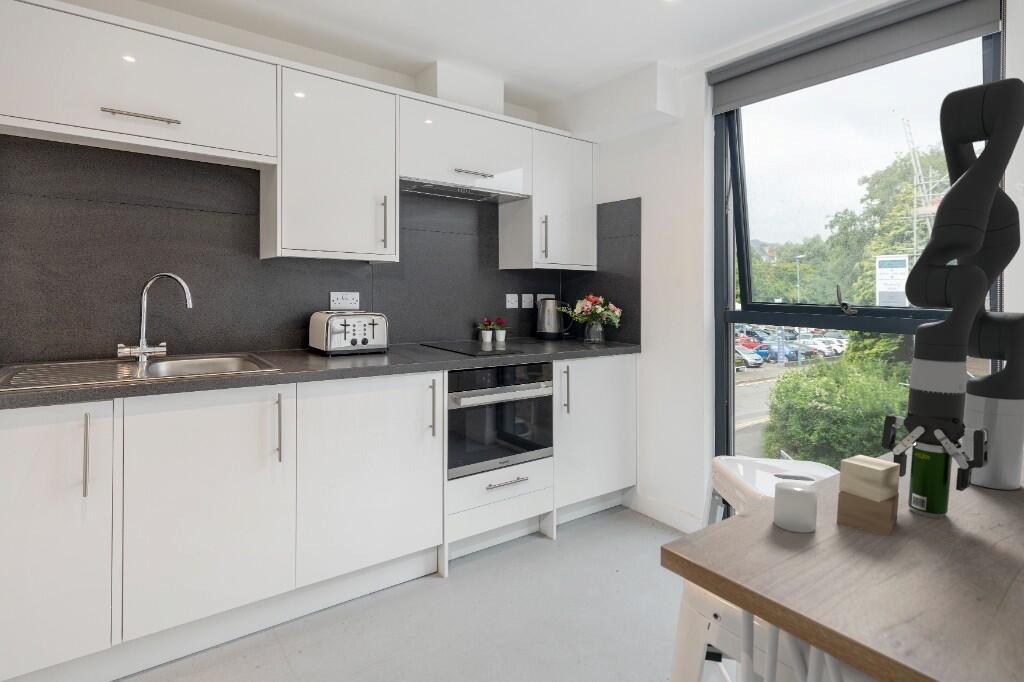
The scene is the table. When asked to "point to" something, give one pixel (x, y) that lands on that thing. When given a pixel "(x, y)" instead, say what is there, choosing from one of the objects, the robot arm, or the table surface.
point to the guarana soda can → (929, 480)
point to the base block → (867, 513)
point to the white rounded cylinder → (795, 507)
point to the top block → (869, 477)
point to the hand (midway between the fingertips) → (929, 482)
